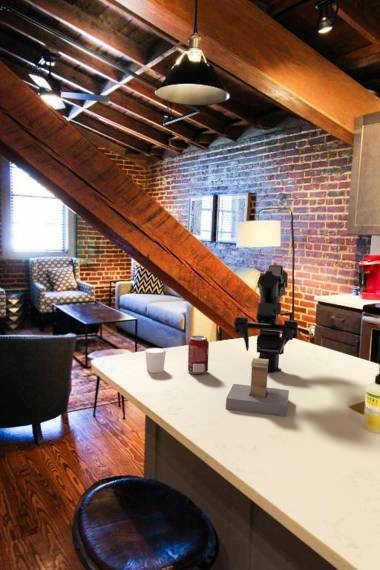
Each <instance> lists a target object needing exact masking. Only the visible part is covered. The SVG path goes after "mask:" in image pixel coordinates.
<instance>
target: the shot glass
mask: <svg viewBox="0 0 380 570" xmlns="http://www.w3.org/2000/svg"><path fill="white" fill-rule="evenodd" d="M166 352H167V351H166V349H164V348H160V347H149V348H146V349H145V363H146V371H147V372H148V373H152V374H159V373H162V372H164V369H165V362H166V361H165V360H166Z"/></svg>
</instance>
